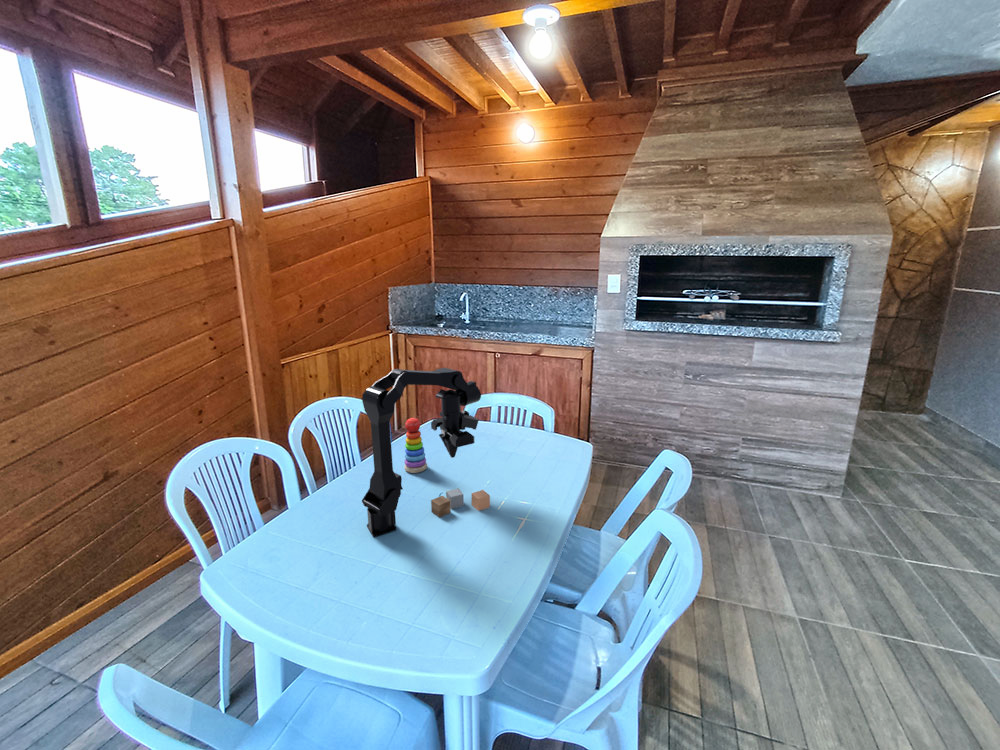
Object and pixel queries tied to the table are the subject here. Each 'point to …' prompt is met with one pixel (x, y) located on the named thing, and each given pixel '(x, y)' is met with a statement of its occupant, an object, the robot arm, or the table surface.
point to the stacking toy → (414, 448)
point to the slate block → (455, 498)
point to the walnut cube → (440, 506)
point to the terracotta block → (480, 500)
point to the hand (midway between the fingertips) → (452, 457)
